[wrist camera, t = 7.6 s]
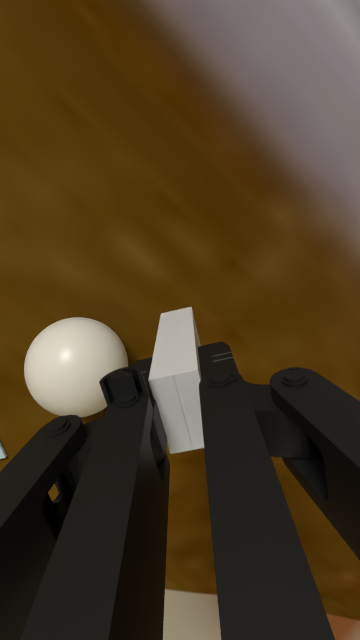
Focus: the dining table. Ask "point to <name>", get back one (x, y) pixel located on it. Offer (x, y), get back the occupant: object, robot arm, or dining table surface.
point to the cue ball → (72, 365)
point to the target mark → (2, 452)
